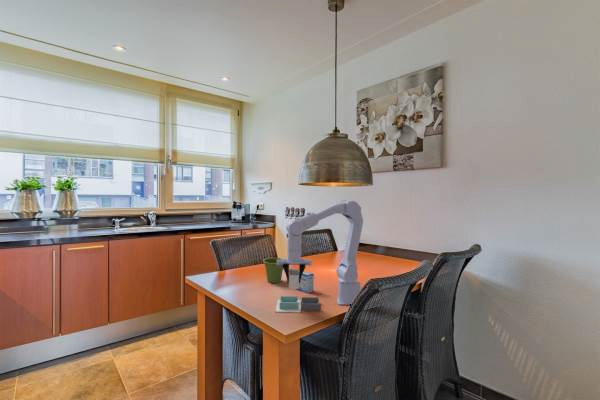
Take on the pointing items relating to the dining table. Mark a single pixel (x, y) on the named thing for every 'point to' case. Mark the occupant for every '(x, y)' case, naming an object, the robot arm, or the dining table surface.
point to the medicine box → (306, 282)
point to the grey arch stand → (310, 303)
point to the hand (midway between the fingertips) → (293, 282)
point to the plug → (293, 278)
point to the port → (289, 304)
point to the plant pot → (273, 270)
